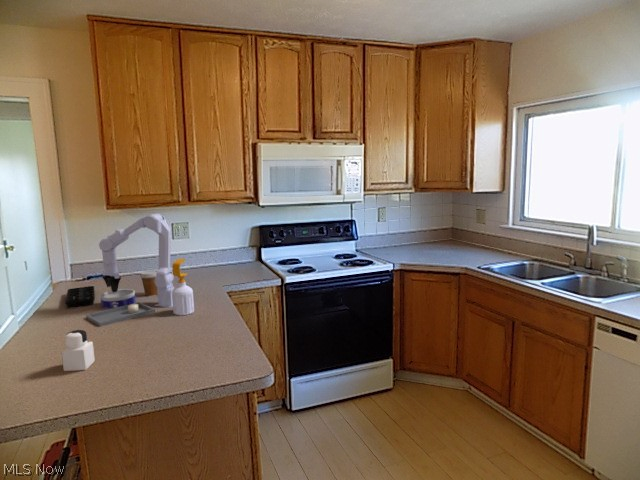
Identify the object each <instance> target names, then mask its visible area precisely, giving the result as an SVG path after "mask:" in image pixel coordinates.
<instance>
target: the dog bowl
mask: <svg viewBox="0 0 640 480" xmlns="http://www.w3.org/2000/svg"><path fill="white" fill-rule="evenodd" d="M99 297H100V303H101V308H104V309H108V310H109V309H113V308H117V307H121V306H126V305H130V304H134V303H136V291H135V289H130V288H120V289H119V288H118V293H116V294H108V291H105V292H104V293H101V295H100V296H99Z"/></svg>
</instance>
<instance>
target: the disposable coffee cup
mask: <svg viewBox="0 0 640 480" xmlns="http://www.w3.org/2000/svg"><path fill="white" fill-rule="evenodd" d="M156 275H157V270H155V269H154V270H153V269H151V270H145V271H141V273H140V277H141V281H142V282H141V283H142V287H143V290H144V294H145V297H150V296H158V293H157V286H156V285H155V283H154V280H155V278H156Z"/></svg>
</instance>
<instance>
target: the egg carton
mask: <svg viewBox="0 0 640 480" xmlns="http://www.w3.org/2000/svg"><path fill="white" fill-rule="evenodd" d="M95 294H96V293H95V286H94V285H89V286H81V287H74V288H68V289H67V292H66V297H65V305H66V308H67V309H73V308H79V307H80V306H82V307H87V306H93V305H94V304H95V300H96V299H95V298H96V297H95V296H96V295H95Z"/></svg>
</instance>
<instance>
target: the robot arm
mask: <svg viewBox="0 0 640 480" xmlns="http://www.w3.org/2000/svg"><path fill="white" fill-rule="evenodd" d="M142 228H144V229H145V228H147V229H149V230H152V231H153V232H154V233H156V234H157V235H158V268H157V270H156V271H157V275H156V278H155V280H154V283H155V285H156V286H157V293H158V294H157V301H158V303H156V304H154V306H155V307H162V308H163V307H164V308H171V307H172V308H173V301H172V291H173V290H174V289H175V288H176V287H175V286H174V283H173V282H174V280H175V276H174V275H173V268H172V266H171V242H172V241H171V238H172V237H171V235H172V233H171V232H172V231H171V228H170V226H169V225H168V222H167V221H166V217H165V216H164V215H162V213H159V212H155V213H153V214H148V215H145V216H144V217H142V218H139V219H138V220H136V221H135V222H133V223H132V224H131V225H129V226H128V227H126V228H125V229H123V228H120V229H115V230H114V231H115V232H113V233H112V234H109V235H107V238H103V239H101V240H100V241H99V243H98V246H99V249H100V250H101V253H102V255H101V256H102V261H103V263H102V265H103V270H102V272H103V273H101V275H102V279H103V280H104V283H105V284H106V287H108V286H111V289H112V292H117V291H118V289H119V284H120V281H121V279H122V276H120V273H119V271H118V264H117V263H118V262H117V253H116V248H117V247H118V246H119V245H121V244H123V243H124V242H126V241H127V240H129V237H130V235H132V234H133V233H135V232H137V231H138V230H140V229H142Z"/></svg>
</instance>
